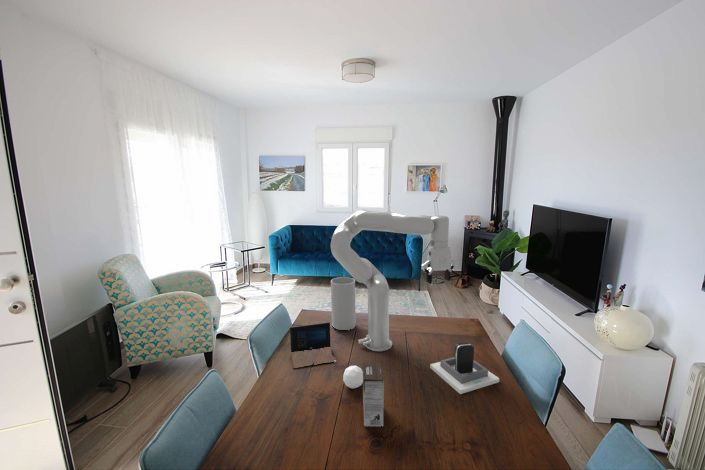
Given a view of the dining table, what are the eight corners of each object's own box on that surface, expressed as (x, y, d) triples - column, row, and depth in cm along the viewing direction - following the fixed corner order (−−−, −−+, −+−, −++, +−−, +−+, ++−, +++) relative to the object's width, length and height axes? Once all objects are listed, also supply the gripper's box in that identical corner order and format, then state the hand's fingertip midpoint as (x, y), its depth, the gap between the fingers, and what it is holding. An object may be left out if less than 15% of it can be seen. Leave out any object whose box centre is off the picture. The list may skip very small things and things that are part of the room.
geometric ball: (349, 395, 118) (335, 380, 116) (355, 376, 124) (343, 362, 123) (364, 391, 114) (350, 377, 112) (370, 372, 120) (357, 358, 118)
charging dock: (460, 394, 113) (460, 383, 113) (430, 367, 130) (430, 358, 129) (499, 382, 120) (499, 372, 119) (465, 358, 136) (466, 349, 136)
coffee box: (363, 406, 108) (362, 362, 105) (382, 406, 108) (382, 362, 105) (363, 426, 99) (362, 379, 96) (384, 427, 99) (384, 379, 96)
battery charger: (468, 367, 127) (469, 340, 125) (473, 372, 123) (475, 345, 122) (452, 369, 126) (453, 342, 124) (456, 374, 122) (457, 346, 120)
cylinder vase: (360, 325, 169) (360, 280, 165) (344, 334, 160) (342, 286, 156) (343, 319, 178) (342, 275, 174) (327, 326, 169) (325, 281, 165)
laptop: (293, 370, 130) (291, 340, 128) (290, 354, 142) (289, 327, 140) (336, 363, 135) (335, 334, 133) (330, 348, 147) (329, 321, 145)
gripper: (427, 247, 135) (426, 286, 137) (460, 243, 141) (459, 281, 143) (417, 244, 141) (417, 281, 144) (449, 241, 148) (448, 276, 150)
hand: (438, 281), depth 144 cm, fingers open, 9 cm apart
